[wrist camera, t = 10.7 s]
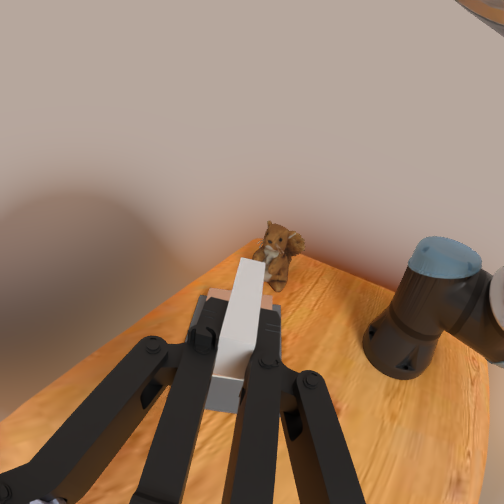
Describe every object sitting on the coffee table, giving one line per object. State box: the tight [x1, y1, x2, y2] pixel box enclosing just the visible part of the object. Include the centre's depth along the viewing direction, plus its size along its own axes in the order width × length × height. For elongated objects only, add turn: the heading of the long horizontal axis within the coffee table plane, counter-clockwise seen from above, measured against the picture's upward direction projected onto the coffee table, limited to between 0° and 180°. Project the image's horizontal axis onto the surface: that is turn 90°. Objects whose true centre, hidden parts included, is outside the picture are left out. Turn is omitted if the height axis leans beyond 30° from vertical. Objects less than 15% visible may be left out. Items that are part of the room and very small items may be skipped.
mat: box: [185, 295, 281, 417], centre depth 43 cm, size 24×16×1 cm, turn 176°
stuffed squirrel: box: [252, 221, 305, 292], centre depth 60 cm, size 10×14×13 cm
